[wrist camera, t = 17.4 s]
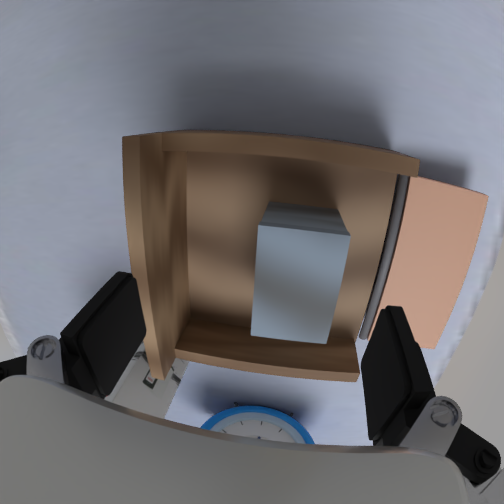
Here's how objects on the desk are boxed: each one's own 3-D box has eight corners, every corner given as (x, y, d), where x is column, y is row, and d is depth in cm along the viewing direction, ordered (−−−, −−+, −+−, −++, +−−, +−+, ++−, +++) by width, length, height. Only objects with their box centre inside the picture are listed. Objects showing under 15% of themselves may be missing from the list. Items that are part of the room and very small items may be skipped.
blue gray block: (268, 200, 20) (258, 225, 15) (338, 208, 19) (350, 236, 14) (260, 292, 22) (250, 335, 18) (322, 300, 22) (326, 344, 17)
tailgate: (400, 173, 17) (488, 196, 15) (398, 171, 18) (483, 193, 16) (358, 339, 23) (434, 349, 21) (358, 333, 23) (432, 343, 22)
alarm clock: (320, 412, 30) (315, 528, 17) (305, 436, 33) (296, 537, 20) (209, 391, 31) (170, 504, 18) (207, 418, 34) (174, 516, 20)
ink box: (147, 368, 32) (104, 445, 21) (118, 337, 30) (64, 412, 20) (199, 347, 29) (157, 443, 18) (167, 311, 27) (108, 403, 17)
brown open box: (184, 129, 20) (122, 136, 13) (391, 150, 19) (443, 167, 11) (187, 312, 27) (151, 377, 19) (350, 333, 25) (361, 407, 18)
